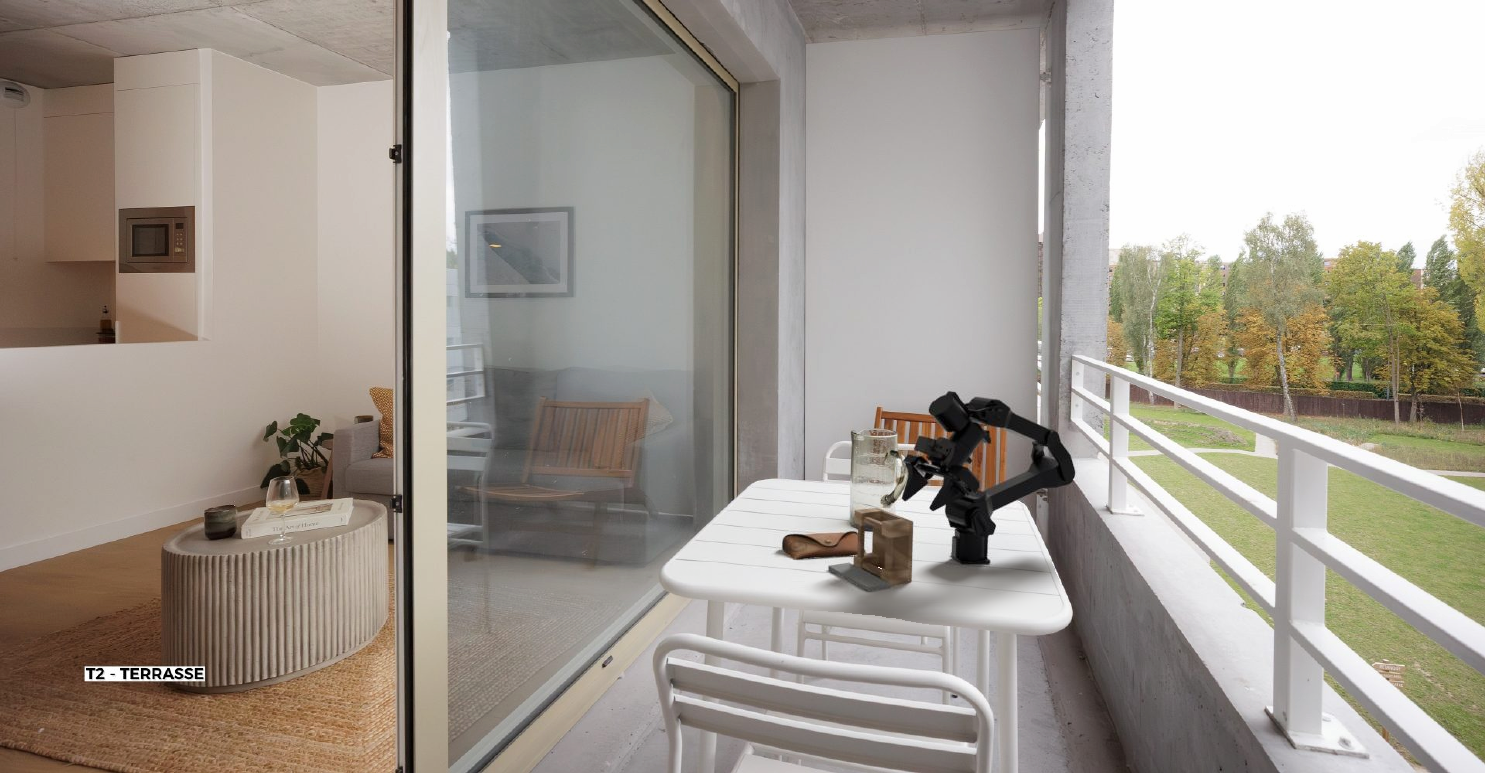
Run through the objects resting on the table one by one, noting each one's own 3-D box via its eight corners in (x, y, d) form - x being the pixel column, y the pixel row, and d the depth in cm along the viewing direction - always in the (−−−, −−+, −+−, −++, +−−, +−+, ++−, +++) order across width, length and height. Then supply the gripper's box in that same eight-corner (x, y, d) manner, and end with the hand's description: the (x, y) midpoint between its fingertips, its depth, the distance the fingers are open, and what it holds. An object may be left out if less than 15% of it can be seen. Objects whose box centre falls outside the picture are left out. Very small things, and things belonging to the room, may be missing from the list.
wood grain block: (875, 563, 162) (876, 507, 161) (911, 581, 152) (913, 521, 151) (853, 567, 160) (854, 510, 159) (888, 585, 149) (890, 524, 148)
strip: (848, 566, 161) (848, 562, 161) (889, 587, 148) (890, 583, 148) (828, 569, 158) (828, 565, 158) (868, 591, 146) (868, 587, 146)
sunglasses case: (792, 559, 164) (788, 529, 167) (784, 567, 170) (780, 537, 173) (872, 554, 168) (866, 524, 171) (861, 562, 175) (855, 533, 177)
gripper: (910, 416, 168) (867, 472, 164) (968, 427, 151) (922, 489, 147) (939, 448, 172) (898, 504, 168) (999, 462, 155) (955, 524, 151)
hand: (916, 504), depth 159 cm, fingers open, 9 cm apart
